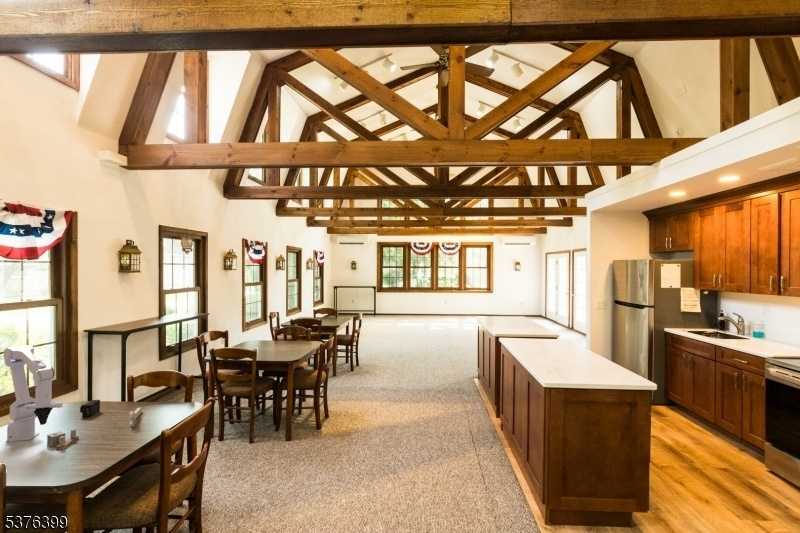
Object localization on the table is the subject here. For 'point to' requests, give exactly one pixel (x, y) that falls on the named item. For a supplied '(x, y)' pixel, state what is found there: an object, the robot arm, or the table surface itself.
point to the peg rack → (69, 441)
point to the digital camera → (90, 408)
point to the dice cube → (54, 439)
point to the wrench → (134, 416)
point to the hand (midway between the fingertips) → (43, 424)
